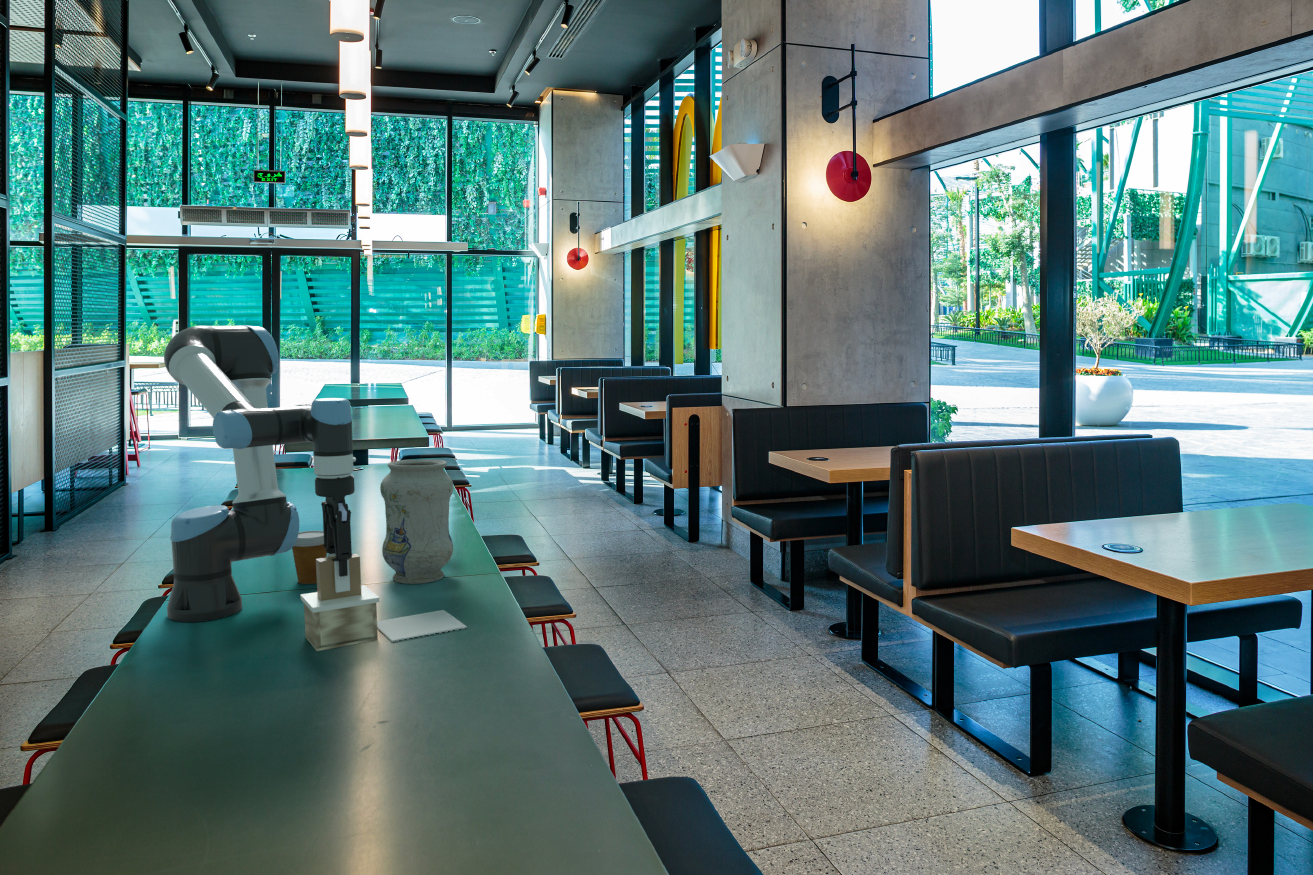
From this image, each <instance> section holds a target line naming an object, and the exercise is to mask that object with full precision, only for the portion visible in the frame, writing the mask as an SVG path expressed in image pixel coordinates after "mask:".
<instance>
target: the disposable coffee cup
mask: <svg viewBox="0 0 1313 875" xmlns="http://www.w3.org/2000/svg"><path fill="white" fill-rule="evenodd" d="M291 551H292V554H293V562H294V567H295V571H296V572H295V573H296V577H297V582H298V584H301V585H313V584H317V575H316V559H319V558H326V557H327V554H328V553H327V552H326V549H325V548H324V532H323V530H306V531H299V534H298V538H297V540H296V543H295V545H294V546H293V547H292V548H291Z"/></svg>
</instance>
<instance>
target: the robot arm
mask: <svg viewBox="0 0 1313 875" xmlns="http://www.w3.org/2000/svg"><path fill="white" fill-rule="evenodd" d="M279 360H280V358H279V352H278V348H277V344H276V342H275V340H274V338H273V336H272V334H271V333H270V332H269V331H268V330H267V329H266V328H264V327H261V326H256V325H255V326H253V325H246V324H243V325H194V326H190V327H187V328H185V329H182V330H181V331H179V332H178V333H176V334H175V335H173V337H172V338H171V339H170V340H169V342H168V343H167V344H166V347H165V349H164V354H163V361H164V365H165V368H166V370H167V372H168V373H169V374H168V375H170V377H171V378H172V379H173V380H174V381H175V382H177V383H178V384H180V385H183V386H185V387H186V388H187V389H188V390H189V391H190V392H191V393H192V395H193V396H194V397H195V399H196V400H198V402H199V403H200V404H201V405H202V406H203V408H204V409H205V410H206V411H207V413H209V415H210V416H211V417H212V418H213V420H212V434H213V437H214V438H215V443H216V444H217V445H218V447H220V448H222V449H232V453H233V460H234V467H235V468H234V469H235V475H236V476H235V477H236V483H237V491H238V494H237V495H236V497H235V498H234V499H233V501H232V509H231V510H229V508H228V506H226V505H223V504H222V505H221V504H213V505H205V506H200V507H195V508H192V509H188V510H185V511H183V512H181V513H179V514H177V515H176V516H174V518H172V520H171V525H170V529H171V530H170V538H169V539H170V541H171V553H172V554H171V555H172V565H173V586H172V588H171V592H170V595H169V598H168V599H169V600H168V603H167V607H166V611H167V619H169V620H171V621H175V622H180V623H196V622H197V623H198V622H207V621H212V620H213V621H214V620H218V619H223V618H226V617H229V616H233V615H236V614H237V613H239V612H240V611H241V610H242V609H243V599H242V595H241V593H240V591H239V588H238V585H237V584H236V582H235V580H234V576H233V573H232V572H233V571H232V563H233V562H239V561H245V560H251V559H257V558H262V557H268V556H271V557H272V556H275V555H278V554H282V553H287V552H289V551H290V550H292V547H293V546H294V545H295V543H296V540H297V538H298V534H299V532H300V517H299V516H300V515H299V511H298V510H297V506H296V505H295V504H294V503H292V502H289V501H288V500H287V495H286V494H285V493H284V492H282V491H281V490H280V489H279V486H278V485H279V484H278V477H277V469H276V468H277V467H276V461H275V454H274V446H279V445H280V446H281V445H291V444H302V443H303V444H304V443H312V446H313V447H312V448H313V453H312V454H313V455H312V458H313V474H314V475H316V477H315V478H314V492H315V495H316V496H318V497H321V498H325V501H321V504H320V505H321V510H322V525H323V526H322V531H323V532H324V548H325V549H326V552H327V557H334V556H336V557H335V558H333V559H332V561H333V562H334V569H335V592H336V593H337V592H344V591H350V575H349V558H352V554H353V553H352V551H353V550H352V531H351V530H352V528H351V520H352V519H351V516H352V511H351V510H350V509H349V506H348V503H346V499H345V498H346V497H347V496H351V495H353V494H354V493H355V491H356V490H355V476H354V475H353V474H352V473H354V462H356V461H357V458H356V457H355V456H354V454H353V453H354V450H353V449H354V448H353V447H354V445H353V414H352V406H351V405H352V404H351V402H350V401H349V399H347V398H345V397H342V398H341V397H324V398H323V397H322V398H315V399H313V401H312V402H311V404H295V405H293V406H286V407H285V406H283V407H269V406H268V399H267V397H268V396H267V391H266V389H267V387H268V386H269V385H270V384H271V382H272V376H273V375H274V374H276V372H277V371H278V369H279V362H280V361H279Z"/></svg>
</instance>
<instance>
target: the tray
mask: <svg viewBox="0 0 1313 875" xmlns="http://www.w3.org/2000/svg"><path fill="white" fill-rule="evenodd" d="M465 628H466V629H467V628H468V626H467V625H465V624H464V623H463V622H462V621H460V620H459V619H457V618H456V617H454V616H453V615H452V614H451V613H449V612H448V611H446V610H444V609H441V610H434V611H428V612H424V613H417V614H412V615H405V616H399V617H395V618H390V619H389V618H388V619H383V620H377V630H378V629H379V630H380V631H381V632H382V633H383V636H385V637H386V638H387V639H388V640H389V641H390V642H391V643H394V642H395V641H396V642H400V641H399V640H402V641H405V640H404V639H407V640H410V639H409V638H413V639H415V638H414V637H418V636H423V637H425V636H424V635H429V636H431V635H430V634H434V635H436V634H435V633H439V634H443V633H442V632H445V633H448V631H450V632H454V631H453V630H455V631H460V630H459V629H461V630H465ZM379 630H378V631H379ZM380 631H379V632H380ZM381 632H380V633H381ZM382 633H381V634H382ZM418 638H419V637H418ZM396 642H395V643H396Z"/></svg>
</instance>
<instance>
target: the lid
mask: <svg viewBox="0 0 1313 875" xmlns="http://www.w3.org/2000/svg"><path fill="white" fill-rule="evenodd" d="M335 557H336V556H334V557H326V558H319V559H316V575H317V583H316V591H315V592H309V593H301V594H299V595H300V596H299V597H300V600H301V602H302V603H303V605H304V604H305V605H306V606H307V607H308V608H309V609H310V610H311V611H312V612H313V613H316V612H322V611H328V610H334V609H341V608H347V607H353V606H359V605H365V604H372V603H376V604H378V603H380V596H378V595H377V594H376V593H375V592H374V591H372V590H371V589H370V588H368V587H367V585H364V584H362V577H361V574H362V573H361V572H362V571H361V556H360V555H359V554H357V553H352V558H349V575H350V591H344V592H337V593H336V592H335V569H334V562H333V561H332V559H333V558H335Z"/></svg>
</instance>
